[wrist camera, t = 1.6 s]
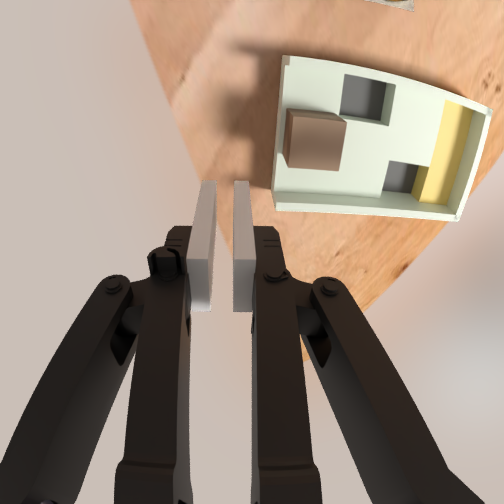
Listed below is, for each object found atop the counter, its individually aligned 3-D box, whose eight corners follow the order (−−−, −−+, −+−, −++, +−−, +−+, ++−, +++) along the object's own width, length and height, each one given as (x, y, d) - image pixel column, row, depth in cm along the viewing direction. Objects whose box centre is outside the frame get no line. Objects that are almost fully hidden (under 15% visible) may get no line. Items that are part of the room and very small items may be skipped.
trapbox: (282, 54, 27) (290, 55, 23) (468, 99, 28) (492, 109, 25) (270, 189, 36) (275, 210, 32) (440, 203, 38) (458, 221, 34)
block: (286, 108, 28) (293, 116, 25) (334, 113, 28) (347, 122, 25) (282, 153, 31) (287, 167, 28) (328, 157, 31) (338, 171, 28)
